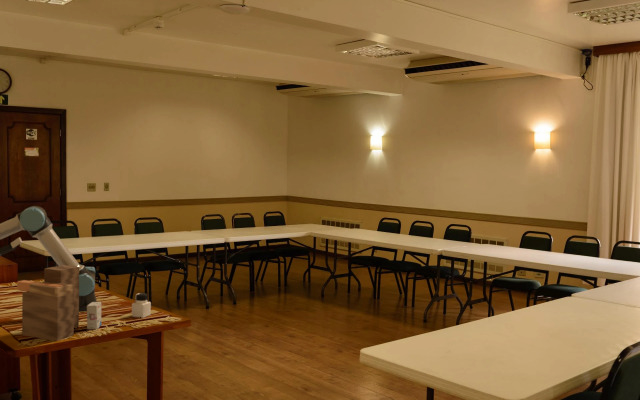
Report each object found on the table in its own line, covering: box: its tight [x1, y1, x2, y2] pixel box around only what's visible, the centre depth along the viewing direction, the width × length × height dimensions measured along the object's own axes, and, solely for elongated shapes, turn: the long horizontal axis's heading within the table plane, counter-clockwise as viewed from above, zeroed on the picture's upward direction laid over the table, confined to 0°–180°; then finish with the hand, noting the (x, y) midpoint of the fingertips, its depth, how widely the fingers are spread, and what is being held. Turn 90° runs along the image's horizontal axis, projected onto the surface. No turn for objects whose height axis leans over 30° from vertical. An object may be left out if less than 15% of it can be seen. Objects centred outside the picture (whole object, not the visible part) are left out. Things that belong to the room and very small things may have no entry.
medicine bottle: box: [131, 292, 152, 319], centre depth 327 cm, size 7×7×12 cm
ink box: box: [86, 301, 102, 330], centre depth 302 cm, size 9×5×12 cm, turn 5°
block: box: [16, 279, 64, 292], centre depth 287 cm, size 4×24×4 cm, turn 69°
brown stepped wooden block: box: [21, 265, 80, 342], centre depth 291 cm, size 22×21×30 cm
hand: (9, 241), depth 298 cm, fingers open, 13 cm apart
